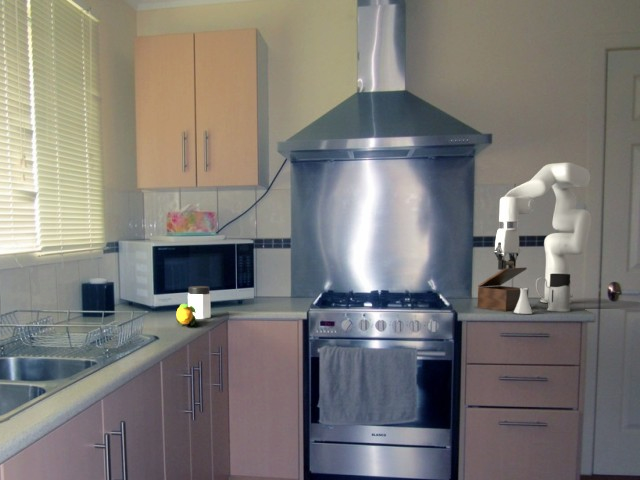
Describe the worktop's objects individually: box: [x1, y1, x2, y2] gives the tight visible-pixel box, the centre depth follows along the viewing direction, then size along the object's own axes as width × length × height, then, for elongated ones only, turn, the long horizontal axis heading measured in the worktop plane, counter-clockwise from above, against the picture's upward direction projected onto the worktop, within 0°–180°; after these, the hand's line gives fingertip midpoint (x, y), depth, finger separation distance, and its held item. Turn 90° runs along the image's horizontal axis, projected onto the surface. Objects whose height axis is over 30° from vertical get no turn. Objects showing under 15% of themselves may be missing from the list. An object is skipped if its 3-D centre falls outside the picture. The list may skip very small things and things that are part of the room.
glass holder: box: [535, 273, 571, 313], centre depth 272 cm, size 9×14×15 cm, turn 89°
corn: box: [175, 303, 197, 327], centre depth 237 cm, size 7×8×20 cm
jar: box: [187, 285, 212, 320], centre depth 257 cm, size 9×8×12 cm
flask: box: [513, 287, 533, 315], centre depth 263 cm, size 7×7×10 cm
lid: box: [477, 260, 528, 288], centre depth 280 cm, size 16×14×5 cm
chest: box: [477, 285, 529, 312], centre depth 279 cm, size 15×14×9 cm
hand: (506, 268), depth 276 cm, fingers closed on lid, 5 cm apart
